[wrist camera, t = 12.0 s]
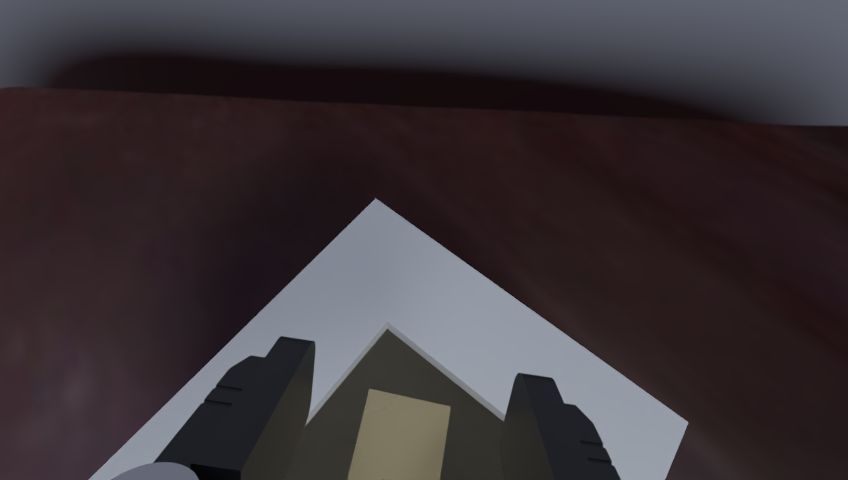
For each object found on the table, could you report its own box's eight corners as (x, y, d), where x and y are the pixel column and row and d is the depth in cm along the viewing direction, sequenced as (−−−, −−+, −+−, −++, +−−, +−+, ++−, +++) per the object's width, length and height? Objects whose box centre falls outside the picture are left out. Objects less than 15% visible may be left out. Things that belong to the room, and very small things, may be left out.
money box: (559, 438, 27) (688, 422, 16) (401, 727, 21) (424, 1068, 9) (379, 297, 30) (375, 198, 19) (194, 506, 24) (17, 550, 12)
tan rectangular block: (422, 426, 24) (450, 406, 15) (403, 531, 22) (424, 578, 13) (370, 415, 24) (369, 388, 15) (346, 518, 22) (328, 557, 13)
